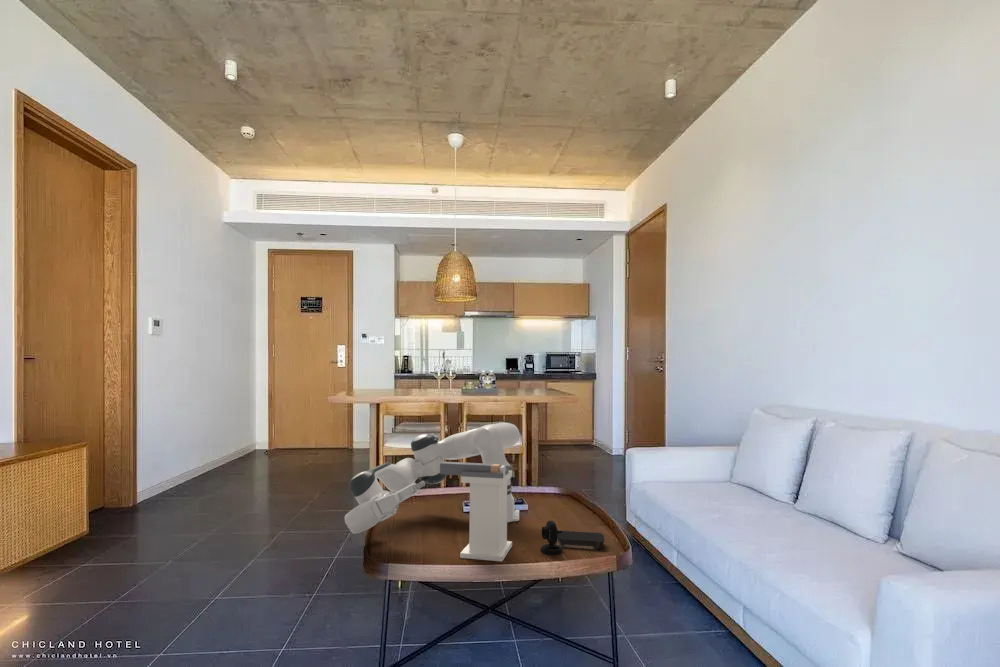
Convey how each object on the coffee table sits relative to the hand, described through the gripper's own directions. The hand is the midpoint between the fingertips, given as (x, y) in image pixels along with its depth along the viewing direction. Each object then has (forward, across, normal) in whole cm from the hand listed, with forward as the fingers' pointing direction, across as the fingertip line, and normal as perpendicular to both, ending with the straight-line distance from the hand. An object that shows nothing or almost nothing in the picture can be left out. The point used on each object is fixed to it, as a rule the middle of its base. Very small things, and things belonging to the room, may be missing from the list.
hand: (418, 485), depth 179 cm
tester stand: (+10, -4, -30) cm, 32 cm away
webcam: (+28, -10, -41) cm, 50 cm away
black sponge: (+35, -19, -46) cm, 61 cm away
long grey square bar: (+18, 0, -5) cm, 19 cm away
